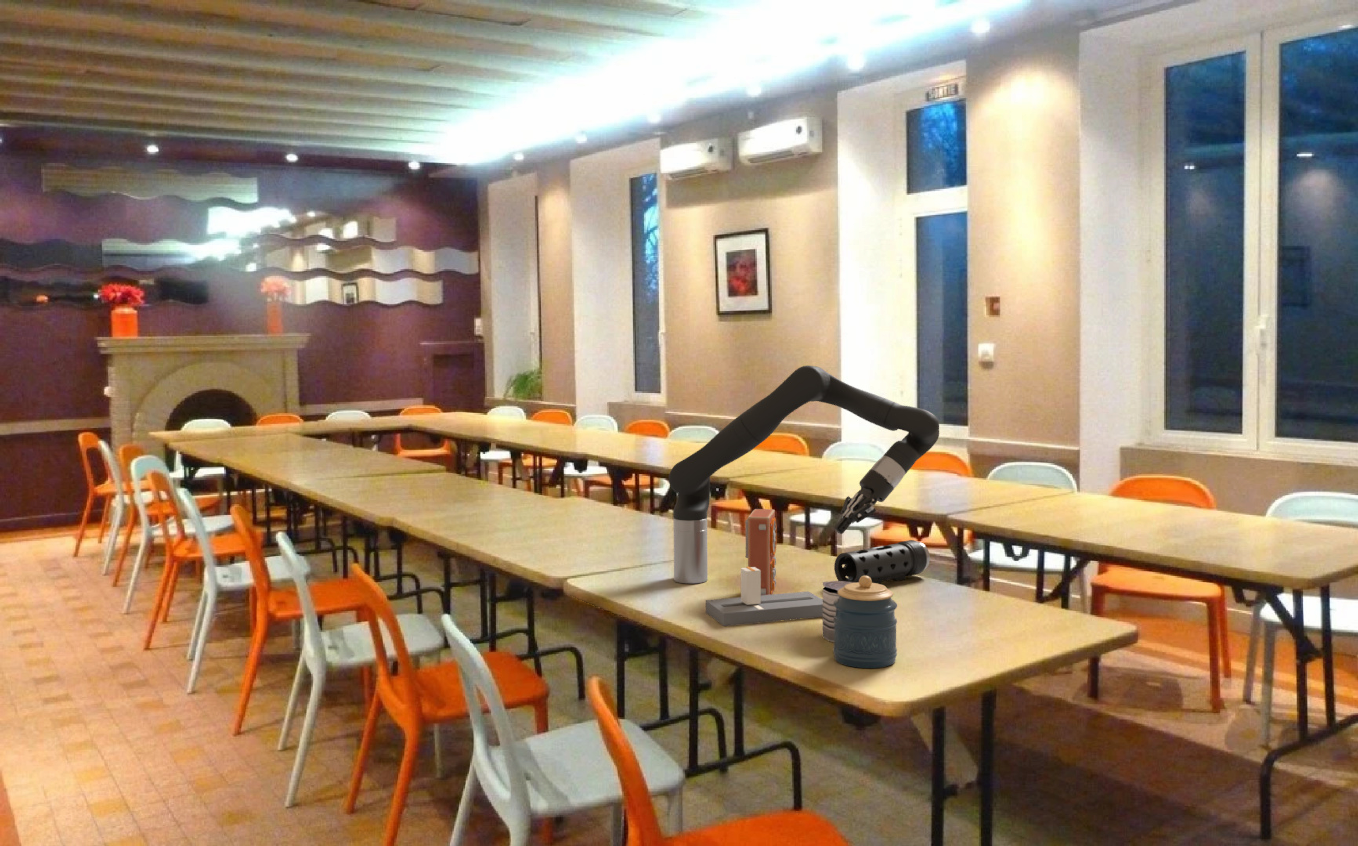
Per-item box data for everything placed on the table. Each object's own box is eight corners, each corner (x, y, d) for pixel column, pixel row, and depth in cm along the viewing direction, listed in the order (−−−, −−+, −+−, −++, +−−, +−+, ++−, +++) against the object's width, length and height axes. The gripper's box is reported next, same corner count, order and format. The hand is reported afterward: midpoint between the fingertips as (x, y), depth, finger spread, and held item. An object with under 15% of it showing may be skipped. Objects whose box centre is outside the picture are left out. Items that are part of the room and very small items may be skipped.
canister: (838, 648, 233) (838, 567, 231) (899, 653, 229) (900, 570, 227) (828, 666, 220) (828, 581, 219) (893, 671, 217) (894, 584, 215)
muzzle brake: (833, 587, 288) (833, 549, 287) (905, 573, 304) (906, 536, 303) (858, 594, 280) (859, 555, 279) (932, 579, 297) (932, 541, 296)
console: (705, 612, 263) (705, 599, 263) (808, 603, 271) (808, 590, 271) (723, 626, 251) (723, 613, 251) (830, 616, 259) (830, 603, 259)
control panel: (778, 589, 286) (771, 603, 272) (751, 588, 288) (743, 601, 273) (778, 508, 285) (771, 518, 270) (751, 507, 286) (743, 517, 271)
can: (819, 630, 247) (819, 578, 246) (870, 630, 247) (870, 578, 246) (824, 644, 236) (825, 590, 235) (877, 644, 235) (878, 590, 234)
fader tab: (740, 600, 261) (740, 567, 260) (754, 599, 262) (754, 566, 261) (746, 604, 257) (746, 570, 256) (760, 603, 258) (760, 569, 257)
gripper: (860, 465, 272) (816, 517, 270) (885, 471, 260) (839, 525, 257) (879, 485, 274) (835, 536, 272) (905, 492, 262) (859, 546, 259)
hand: (837, 531), depth 264 cm, fingers closed
